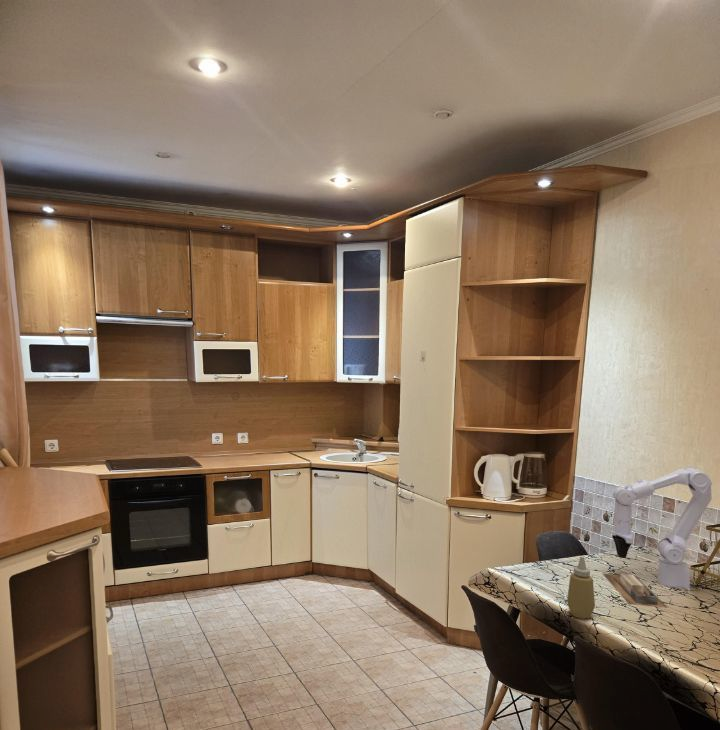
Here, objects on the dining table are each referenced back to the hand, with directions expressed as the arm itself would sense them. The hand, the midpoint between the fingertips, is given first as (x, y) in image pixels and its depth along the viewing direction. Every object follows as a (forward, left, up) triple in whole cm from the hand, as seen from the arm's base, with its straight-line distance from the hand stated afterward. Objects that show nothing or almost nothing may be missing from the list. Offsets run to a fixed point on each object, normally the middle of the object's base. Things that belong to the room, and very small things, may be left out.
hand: (621, 556), depth 190 cm
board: (0, +11, -8) cm, 14 cm away
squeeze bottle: (+24, +34, -9) cm, 42 cm away
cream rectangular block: (0, +10, -8) cm, 13 cm away
